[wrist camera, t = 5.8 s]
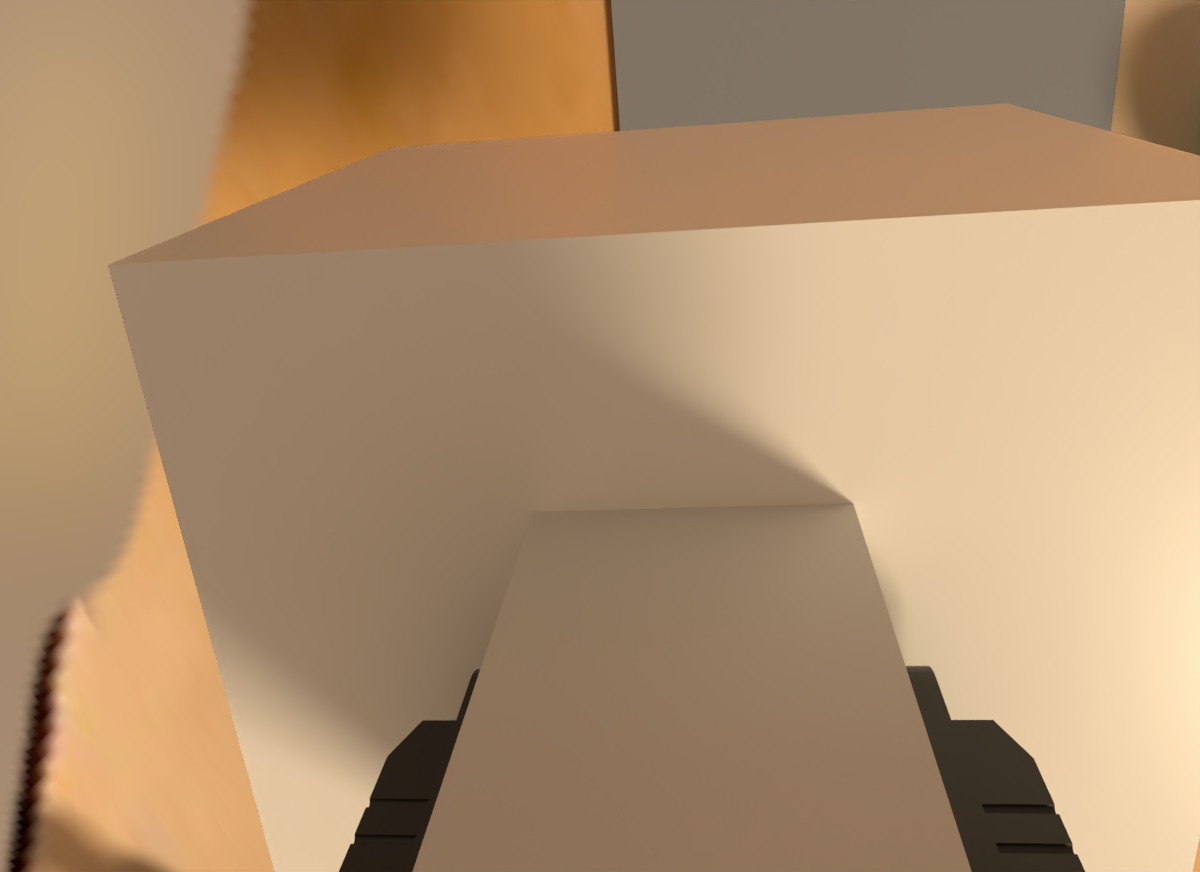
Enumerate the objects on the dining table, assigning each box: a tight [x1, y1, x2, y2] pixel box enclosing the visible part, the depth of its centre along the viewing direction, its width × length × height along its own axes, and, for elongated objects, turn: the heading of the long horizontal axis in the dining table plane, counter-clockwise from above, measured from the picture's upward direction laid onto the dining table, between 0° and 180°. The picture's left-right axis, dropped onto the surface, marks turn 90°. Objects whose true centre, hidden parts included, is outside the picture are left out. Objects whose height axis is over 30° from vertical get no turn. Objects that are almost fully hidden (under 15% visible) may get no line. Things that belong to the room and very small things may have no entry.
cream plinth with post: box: [108, 103, 1200, 872], centre depth 12 cm, size 10×10×14 cm
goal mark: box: [611, 0, 1125, 131], centre depth 29 cm, size 14×14×1 cm
